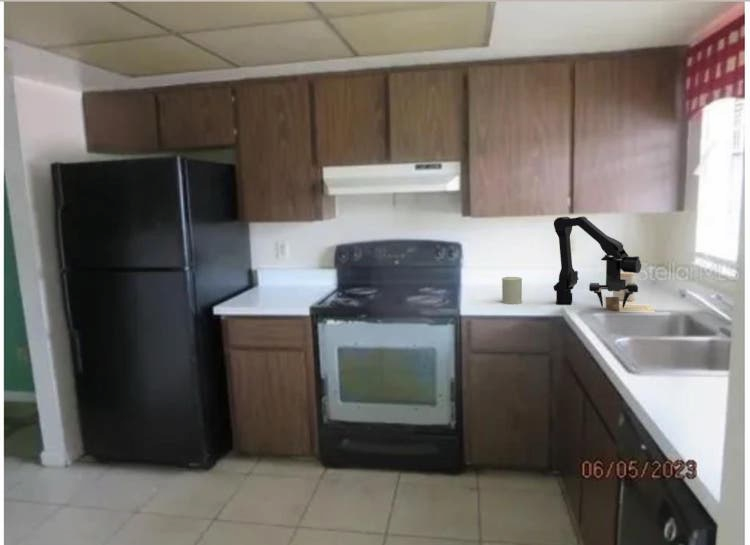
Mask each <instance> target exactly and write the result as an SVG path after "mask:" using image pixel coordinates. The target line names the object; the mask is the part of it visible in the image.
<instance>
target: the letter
mask: <svg viewBox="0 0 750 545" xmlns="http://www.w3.org/2000/svg"><path fill="white" fill-rule="evenodd" d="M622 304H623V303H619V311H617V312H618V313H639V314H640V313H645V314H656V311H655V310H653V309H654V308H653V306H652V305H651V304H638V303H636V304H635V303H634V304H633V303H625V306H624V308H623V307H622ZM649 309H652V311H651V310H649Z"/></svg>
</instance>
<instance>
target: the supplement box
mask: <svg viewBox="0 0 750 545" xmlns="http://www.w3.org/2000/svg"><path fill="white" fill-rule="evenodd" d="M635 274H636V273H630V272H623V271H621V279H625V280H626V285H627V284H635V278H636V277H635ZM623 296H624V290H620V291H612V297H619V302H623ZM634 300H635V292H633V294H630V295H629V297H628V298H627V301H626V302H633V301H634Z"/></svg>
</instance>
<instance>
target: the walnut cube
mask: <svg viewBox="0 0 750 545" xmlns="http://www.w3.org/2000/svg"><path fill="white" fill-rule="evenodd" d="M619 304H620V301H619V297H613V296H605V309H606V312H607V311H608V312H609V311H610V312H611V311H612V312H615V311H617V312H618V311H619Z"/></svg>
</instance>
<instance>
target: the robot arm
mask: <svg viewBox="0 0 750 545" xmlns="http://www.w3.org/2000/svg"><path fill="white" fill-rule="evenodd" d="M553 227H554V228H553V229H554V231H555V234H556V235H557V237H558V242H559V243H558V245H559V255H560V256H559V258H560V265H561V266H560V268H561V269H560V271H559V273H558V281H557V282H556V284H554V285H553V291H554V292H556V296H555V297H556V301H555V304H556V305H568V306H570V305H572V303H573V293H572V290H574V287H575V286H576V284H578V281H579V277H578V273H579V272H578V270H575V269H574V268H573V259H572V249H571V234H572V231H573V227H579V228H580V229H582V230H583V231H584V232H585V233H586V234H588V235H589V236H590V237H591V238H592V239H593V240H594V241H596V242H597V243H598V245H599V246H600V249H601V250H602V251H603V252H604V253H605V255H604V256H603V257H602V258H601V259H600V260H601V261H604V262H605V261H606V262H605V267H606V268H605V284H600V283H599V282H590V283H589V286H588V287H589V288H588V289H589V292H593V293H594V294H596V295H597V297H598V299H599V303H600V307H601V308H603V307H604V301H603V294H602V290H607V291H608V292H613V291H620V290H624V296H623V301H622V303H621V304H622V307H623V308H624V306H625V304H627V303H626V302H628V301H627V298H628V297H629V295H630V294H633V292H634V293H638V292H639V287H638V285H637V283H634V284H627V285H626V280H625V279H621V272H630V273H635V274H639V273H640V272H641V270H642V263H641V259H640V256H638V255H637V256H629V254H628V253H627V252H626V250H625V249H624V245H623V243H622V242H620V241H619V240H617V239H615V238H614V237H611V236H609V235H607V234H606V233H605V232H603V231H602V230H601V229H600V228H599V227H598V226H596V225H595V224H593V222H592V221H590V220H589V219H588V218H587V216H578V217H572V218H571V217H569V216H560V217H556V219H555V220H553Z"/></svg>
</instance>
